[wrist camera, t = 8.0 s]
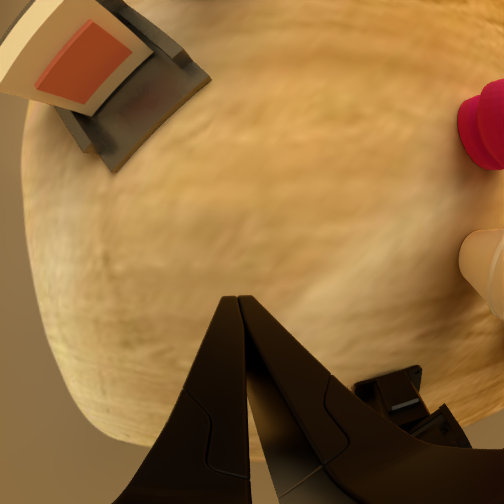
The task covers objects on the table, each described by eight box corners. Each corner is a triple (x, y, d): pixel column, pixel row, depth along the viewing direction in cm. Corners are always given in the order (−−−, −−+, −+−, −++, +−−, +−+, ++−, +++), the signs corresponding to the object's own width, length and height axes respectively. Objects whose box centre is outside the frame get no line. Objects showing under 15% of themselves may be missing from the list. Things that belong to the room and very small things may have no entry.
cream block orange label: (157, 55, 15) (81, -11, 6) (94, 120, 17) (-3, 96, 7) (130, 31, 15) (60, -25, 5) (74, 91, 17) (-12, 64, 7)
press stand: (211, 79, 17) (155, 2, 7) (116, 172, 19) (16, 169, 9) (130, 10, 15) (72, -41, 6) (58, 86, 18) (-16, 64, 8)
